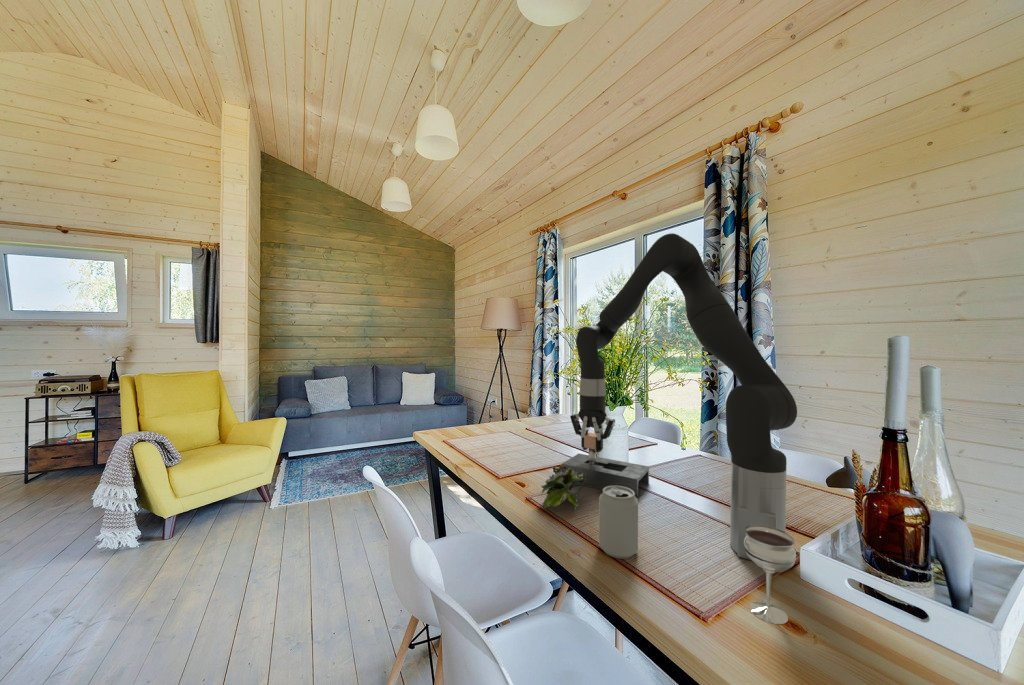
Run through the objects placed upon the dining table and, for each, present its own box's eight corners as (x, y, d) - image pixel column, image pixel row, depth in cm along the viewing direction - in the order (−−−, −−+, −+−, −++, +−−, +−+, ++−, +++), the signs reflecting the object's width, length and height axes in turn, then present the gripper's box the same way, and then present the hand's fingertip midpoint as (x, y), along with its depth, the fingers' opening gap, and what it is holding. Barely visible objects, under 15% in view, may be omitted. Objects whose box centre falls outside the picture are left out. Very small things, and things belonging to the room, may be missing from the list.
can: (617, 565, 72) (617, 501, 72) (591, 545, 79) (591, 487, 78) (646, 554, 75) (646, 493, 75) (619, 536, 82) (619, 480, 82)
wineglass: (776, 634, 55) (777, 551, 55) (733, 604, 61) (733, 529, 61) (805, 620, 58) (806, 541, 58) (761, 593, 64) (761, 521, 64)
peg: (596, 479, 112) (596, 437, 112) (582, 475, 115) (582, 435, 114) (601, 474, 116) (602, 434, 116) (588, 471, 118) (588, 432, 118)
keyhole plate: (637, 498, 102) (637, 479, 102) (561, 480, 114) (561, 463, 114) (648, 483, 112) (649, 466, 112) (578, 468, 124) (578, 453, 124)
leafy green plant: (559, 518, 102) (574, 475, 107) (587, 528, 93) (602, 480, 97) (527, 501, 98) (545, 456, 103) (553, 509, 89) (571, 460, 94)
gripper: (565, 392, 116) (565, 449, 116) (611, 397, 108) (610, 458, 108) (575, 389, 122) (575, 443, 122) (620, 393, 114) (619, 451, 114)
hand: (592, 450), depth 115 cm, fingers closed on peg, 3 cm apart
